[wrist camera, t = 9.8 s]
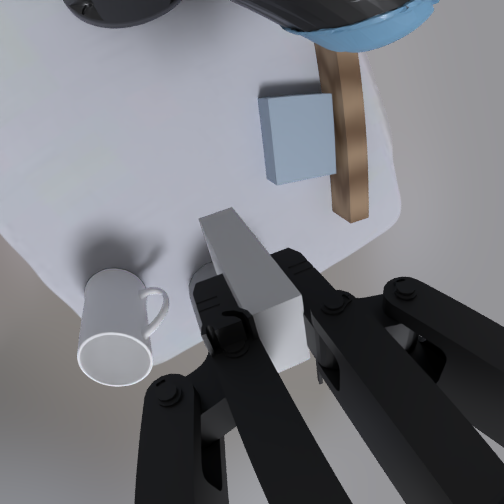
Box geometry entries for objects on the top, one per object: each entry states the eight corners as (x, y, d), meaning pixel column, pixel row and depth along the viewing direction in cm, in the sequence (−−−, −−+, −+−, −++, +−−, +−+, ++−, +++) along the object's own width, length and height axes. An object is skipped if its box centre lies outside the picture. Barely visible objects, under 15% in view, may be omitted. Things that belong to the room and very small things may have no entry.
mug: (149, 244, 37) (156, 302, 27) (179, 295, 42) (196, 358, 32) (72, 285, 36) (58, 350, 26) (107, 330, 41) (107, 396, 31)
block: (256, 98, 34) (267, 98, 31) (316, 92, 36) (331, 93, 33) (265, 178, 39) (277, 185, 36) (321, 167, 41) (336, 173, 38)
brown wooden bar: (313, 37, 32) (333, 32, 28) (333, 37, 32) (354, 33, 29) (332, 211, 44) (350, 223, 40) (349, 206, 45) (368, 217, 41)
